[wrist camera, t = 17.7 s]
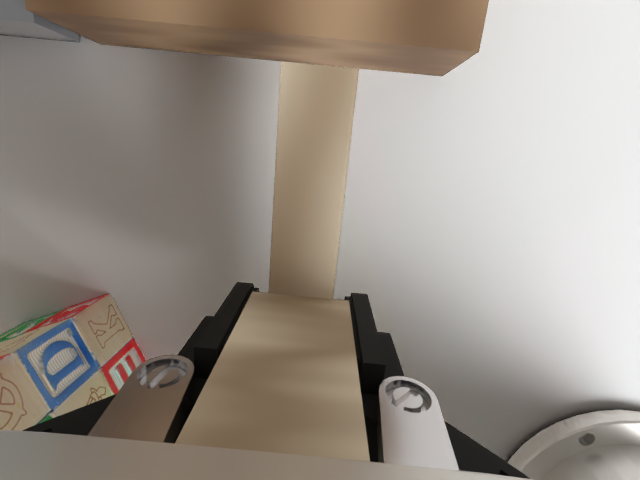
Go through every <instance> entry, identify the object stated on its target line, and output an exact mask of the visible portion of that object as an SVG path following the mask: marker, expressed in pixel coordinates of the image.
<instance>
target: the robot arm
mask: <svg viewBox="0 0 640 480" xmlns="http://www.w3.org/2000/svg"><path fill="white" fill-rule="evenodd" d="M252 292H259V288H254V285H253V284H252V283H241V282H237V283H236V284H235V286H234V287H233V289H232V290H231V292H230V293H229V295H228V296H227V298H226V299H225V301H224V302H223V304H222V305H221V307H220V308H219V310H218V311H217V313H216V314H215V316H214V317H213V316H206V317H205V318H204V319H203V320H202V322H201V323H200V325H199V326H198V327H197V329H196V330H195V332H194V333H193V334H192V336H191V337H190V338H189V340H188V341H187V343H186V344H185V345H184V347H183V348H182V350H181V351H180V352H179V354H178V355H163V356H159V357H155V358H152V359H150V360H147V361H145V362H143V363H142V364H140V365H139V366H138V367H137V368H136V369H135V370H134V371H133V372H132V373H131V375H130V376H129V377H128V379H127V380H126V382H125V383H124V384H123V386H122V387H121V389H120V390H119V392H118V393H117V394H115V395H112V396H109V397H107V398H104V399H102V400H99V401H96V402H94V403H91V404H89V405H86V406H83V407H81V408H78V409H76V410H73V411H70V412H68V413H65V414H63V415H60V416H57V417H55V418H52V419H50V420H47V421H44V422H42V423H39V424H37V425H34V426H31V427H29V428H27V429H25V430H22V431H14V430H0V480H640V412H639V411H629V410H604V411H595V412H590V413H585V414H580V415H576V416H573V417H570V418H567V419H565V420H562V421H559V422H556V423H555V424H553V425H551V426H549V427H547V428H545V429H543V430H542V431H540V432H538V433H537V434H536V435H534V436H533V437H532V438H530V439H529V440H528V441H526V442H525V443H524V444H523V445H522V446H521V447H520V448H519V449H518V450H517V451H516V452H515V453H514V454H513V455H512V457H511V458H510V460H509V461H508V463H507V462H506V461H504V460H503V459H501V458H500V457H498V456H496V455H495V454H493V453H492V452H490V451H489V450H487V449H486V448H484V447H483V446H481V445H480V444H478V443H477V442H475V441H474V440H472V439H471V438H469V437H468V436H466V435H465V434H463V433H462V432H460V431H459V430H457V429H456V428H454V427H453V426H451V425H450V424H448V423H447V422H445V421H444V418H443V415H442V412H441V409H440V405H439V402H438V399H437V397H436V395H435V393H434V392H433V391H432V390H431V389H430V388H429V387H427V386H426V385H425V384H423V383H422V382H420V381H417V380H415V379H413V378H409V377H405V376H404V374H403V371H402V368H401V365H400V362H399V359H398V356H397V353H396V350H395V347H394V344H393V341H392V338H391V335H390V333H383V332H377V329H376V326H375V322H374V318H373V314H372V310H371V307H370V303H369V299H368V295H367V294H358V293H351V296H350V297H346V296H345V299H344V300H348V301H349V305H350V312H351V320H352V328H353V335H354V343H355V350H356V358H357V366H358V373H359V381H360V389H361V396H362V404H363V411H364V419H365V427H366V434H367V442H368V449H369V457H370V462H368V461H358V460H347V459H337V458H326V457H316V456H305V455H294V454H284V453H273V452H263V451H251V450H240V449H229V448H218V447H207V446H196V445H185V444H175V442H176V440H177V438H178V436H179V434H180V432H181V430H182V429H183V427H184V425H185V423H186V421H187V419H188V417H189V415H190V413H191V411H192V409H193V407H194V405H195V403H196V401H197V399H198V397H199V395H200V393H201V391H202V389H203V387H204V385H205V384H206V382H207V380H208V378H209V376H210V374H211V372H212V370H213V368H214V366H215V364H216V362H217V360H218V358H219V356H220V354H221V352H222V350H223V348H224V346H225V344H226V342H227V341H228V339H229V337H230V335H231V333H232V331H233V329H234V327H235V325H236V323H237V321H238V319H239V317H240V315H241V313H242V311H243V309H244V307H245V305H246V303H247V301H248V299H249V297H250V296H251V294H252Z"/></svg>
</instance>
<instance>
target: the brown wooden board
mask: <svg viewBox="0 0 640 480" xmlns="http://www.w3.org/2000/svg"><path fill="white" fill-rule="evenodd" d="M488 2H489V0H25V6H26V10H28V11H30V12H32V13H34V14H36V15H38V16H41V17H43V18H45V19H47V20H49V21H52V22H54V23H56V24H58V25H60V26H62V27H65V28H67V29H69V30H71V31H73V32H75V33H78V34H80V35H82V36H84V37H86V38H89V39H91V40H93V41H95V42H97V43H99V44H103V45H114V46H124V47H135V48H146V49H157V50H167V51H178V52H189V53H199V54H210V55H221V56H232V57H242V58H253V59H264V60H275V61H285V62H296V63H307V64H317V65H328V66H339V67H350V68H360V69H371V70H382V71H392V72H403V73H414V74H425V75H435V76H443V75H445V74H446V73H448V72H449V71H451V70H452V69H454V68H455V67H457V66H458V65H460V64H461V63H463V62H464V61H466V60H467V59H469V58H470V57H472V56H473V55H475V54H476V53H478V52H479V48H480V43H481V38H482V33H483V27H484V22H485V17H486V12H487V7H488Z"/></svg>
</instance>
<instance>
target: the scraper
mask: <svg viewBox="0 0 640 480" xmlns="http://www.w3.org/2000/svg"><path fill="white" fill-rule="evenodd" d="M358 72H359V69H355V68H345V67H334V66H324V65H314V64H303V63H293V62H282V61H281V72H280V90H279V109H278V128H277V146H276V165H275V184H274V202H273V221H272V240H271V258H270V277H269V293H263V292H252V294H251V296H250V297H249V299H248V301H247V303H246V305H245V307H244V309H243V311H242V313H241V315H240V317H239V319H238V321H237V323H236V325H235V327H234V329H233V331H232V333H231V335H230V337H229V339H228V341H227V342H226V344H225V346H224V348H223V350H222V352H221V354H220V356H219V358H218V360H217V362H216V364H215V366H214V368H213V370H212V372H211V374H210V376H209V378H208V380H207V382H206V384H205V385H204V387H203V389H202V391H201V393H200V395H199V397H198V399H197V401H196V403H195V405H194V407H193V409H192V411H191V413H190V415H189V417H188V419H187V421H186V423H185V425H184V427H183V429H182V430H181V432H180V434H179V436H178V438H177V440H176V442H175V444H185V445H196V446H207V447H218V448H229V449H240V450H251V451H263V452H273V453H284V454H294V455H305V456H316V457H326V458H337V459H347V460H358V461H368V462H370V457H369V449H368V442H367V434H366V427H365V419H364V411H363V404H362V396H361V389H360V381H359V373H358V366H357V358H356V350H355V343H354V335H353V328H352V320H351V312H350V305H349V301H348V300H337V299H333V294H334V285H335V276H336V267H337V258H338V249H339V240H340V232H341V223H342V214H343V205H344V196H345V187H346V178H347V169H348V160H349V152H350V143H351V134H352V125H353V116H354V107H355V98H356V89H357V80H358Z"/></svg>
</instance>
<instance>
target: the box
mask: <svg viewBox="0 0 640 480" xmlns="http://www.w3.org/2000/svg"><path fill="white" fill-rule="evenodd" d="M0 35H7V36H17V37H28V38H39V39H49V40H60V41H71V42H80V35H79V34H78V33H75V32H73V31H71V30H69V29H67V28H65V27H62V26H60V25H58V24H56V23H54V22H52V21H49V20H47V19H45V18H43V17H41V16H38V15H36V14H34V13H32V12H30V11H28V10H26V6H25V0H0Z"/></svg>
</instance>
